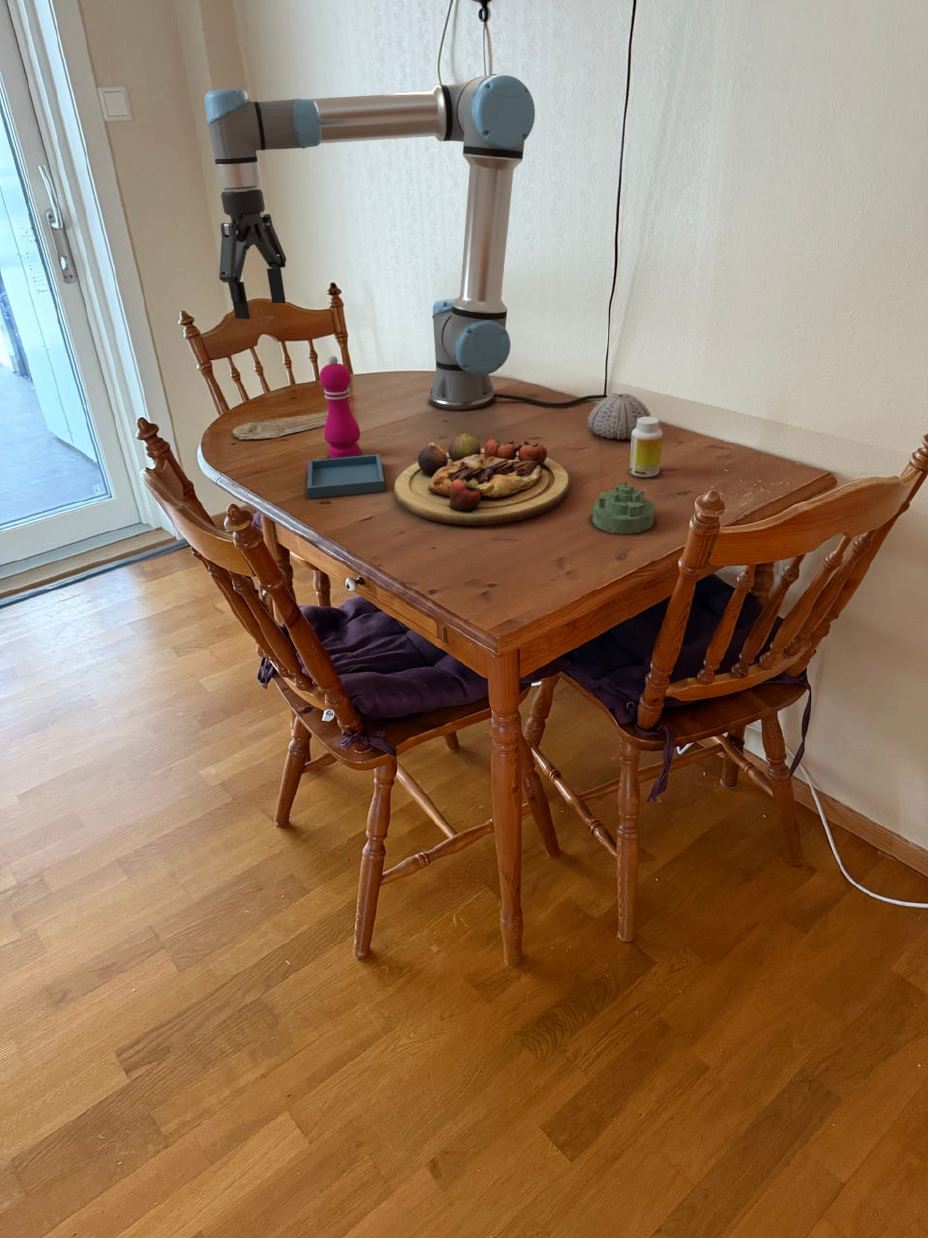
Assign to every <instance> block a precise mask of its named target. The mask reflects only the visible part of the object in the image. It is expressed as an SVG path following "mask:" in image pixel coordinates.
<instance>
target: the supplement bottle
mask: <svg viewBox="0 0 928 1238" xmlns="http://www.w3.org/2000/svg"><path fill="white" fill-rule="evenodd" d="M663 434H664V433H663V430H662V429H661V428H660V419H659V418H657V417H656V416H651V417H641V418H638V420H637V427H636V428H635V429H634V430H633V431H632V438H631V439H630V455H629V472H630V474H631V475H633V476H635V477H637V478H652V477H656V476H657V475H658V474H659V473H660V470H661V462H662V461H661V460H662V448H663V437H664V435H663Z"/></svg>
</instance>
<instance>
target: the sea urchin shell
mask: <svg viewBox="0 0 928 1238" xmlns="http://www.w3.org/2000/svg"><path fill="white" fill-rule="evenodd" d="M611 394H612V395H609V396H608V397H606V398H602V400H601V399H600V401H599V402H598V403H596V405H595V406H594V408H592V410H591V411H590V412H589V413H588V414H589V416H588V417H587V419H588V420H587V423H588V427H589V428H590V431H592V432H593V433H594V434H596V435H599V437H604V438H608V439H618V440H625V439H627V440H631V438H632V431H633V430H634V429H635V428H636V427H637V420H638V418H641V417H652V414H651V412H650V411H649V408H647V407H646V405H645V404H643V402H642V401H641V400H639V398H637V397H636V396H633V395H632V394H629V393H611Z"/></svg>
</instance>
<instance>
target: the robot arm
mask: <svg viewBox="0 0 928 1238" xmlns="http://www.w3.org/2000/svg"><path fill="white" fill-rule="evenodd" d="M203 101H204V106H205V114H206V120H207V121H206V122H207V127H208V132H209V136H210V137H209V138H210V143H211V147H212V153H213V158H214V163H215V168H216V174H217V179H218V186H219V188H220V189H221V190H223V191H222V192H221V193H220V197H221V203H222V209H223V213H224V214H225V215H228V216H229V217H230V222H221V223H220V232H221V233H220V234H221V242H220V243H221V244H220V257H219V258H220V260H219V271H218V272H219V273H218V278H219V280H220V281H222V283H224V284H225V283H227V284H228V288H229V293H230V299H231V301H232V306H233V312H234V317H235V319H236V320H238V319H239V320H249V319H250V318H251V315H250V309H249V305H248V300H247V291H246V287H245V282H244V281H241V278H242V275H243V270H244V266H245V261H246V257H247V252H248V250H249V249H250V248H251V246H253V245H255V247H256V249H257V250H258V252H259V253H260V255H261V257H262V259H264V261H265V262H266V264H267V265H268V268H266V273H267V280H268V287H269V291H270V297H271V298H270V299H271V303H272V304H286V294H285V288H284V281H283V275H282V269H284V268H286V262H287V257H286V254H285V252H284V250H283V247H282V245H281V242H280V240H279V238H278V235H277V233H276V230H275V227H274V225H273V220H272V216H271V214H270V213H264V212H265V210H266V206H265V205H266V204H265V199H264V193H263V191H262V189H260V187H261V186H262V178H261V173H260V165H259V162H258V156H257V151H267V150H270V151H271V150H272V151H273V150H291V149H292V150H293V149H302V150H303V149H307V148H314V147H319V145H320V144H334V143H335V144H336V143H351V142H352V143H353V142H366V141H381V140H397V139H410V138H412V139H413V138H414V139H415V138H428V137H435V139H436V140H438V142H460V143H461V142H462V143H463V145H462V156H463V158H464V160H466V162H467V164H468V165H469V172H468V183H467V197H466V198H467V199H466V211H465V212H466V214H465V225H464V238H463V239H464V240H463V252H462V253H463V254H462V264H461V265H462V266H461V280H460V290H459V291H460V294H459V296H458V297H457V298H448V299H442V300H437V301H436V302H434V303H433V305H432V315H431V317H432V322H433V323H432V324H433V337H434V339H433V340H434V355H435V372H434V377H433V380H432V385H431V387H430V390H429V401H430V404H431V405H432V406H434V407H436V408H438V409H442V410H450V411H468V410H476V409H480V408H483V407H486V406H489V405H490V404H492V403H494V401H495V398H499V399H506V400H514V401H521V402H527V403H531V404H534V405H535V404H536V405H538V406H539V405H540V406H543V407H550V408H551V407H552V408H553V407H554V408H557V407H558V408H559V407H567V406H573V405H575V404H578V403H581V402H584V401H588V400H598V399H600V400H601V399H604V398H606V397H608V396H607V395H605V394H606V393H605V394H604V393H603V394H591V395H586V396H582V397H579V398H576V399H573V400H570V401H565V402H548V401H544V400H543V401H542V400H538V399H535V398H530V397H525V396H519V395H511V394H503V393H496V392H495V388H494V386H493V382H492V381H491V377H490V374H493V373H495V372H496V371H498V370H499V369H500V368H502V366H503V365H504V364H505V363H506V361H507V360H508V357H509V356H510V352H511V338H510V335H509V332H508V330H507V329H506V327H507V316H508V307H507V306H506V304H505V302H504V301H503V300H502V295H503V294H502V293H503V283H504V273H505V263H506V252H507V241H508V232H509V222H510V213H511V212H510V211H511V202H512V190H513V181H514V171H515V169H516V168H517V167H518V166H519V165H520V164H521V163H522V162H523V159H524V150H525V141H526V140H527V139H528V137H529V136H530V134H531V132H532V131H533V129H534V128H533V127H534V124H535V118H536V117H535V116H536V107H535V103H534V102H535V101H534V99H533V96H532V94H531V92H530V90H529V88H528V86H526V85H525V83H523V81H521V80H520V79H519V78H517V77H515V76H512V75H509V74H504V73H493V74H490V75H483V76H476V77H473V78H470V79H467V80H464V81H460V82H455V83H451V84H439V85H435V87H434V88H433V89H432V90H431V91H423V92H405V93H404V92H403V93H391V94H390V93H389V94H371V95H356V96H355V95H354V96H339V97H338V96H337V97H321V98H319V97H318V98H293V99H279V100H278V99H276V100H266V101H252V100H250V98H249V96H248V92H247V91H246V89H242V88H237V89H236V88H235V89H216V90H215V89H214V90H209V91H207V92H206V93H205V96H204V100H203Z"/></svg>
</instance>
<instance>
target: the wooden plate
mask: <svg viewBox="0 0 928 1238" xmlns="http://www.w3.org/2000/svg"><path fill="white" fill-rule="evenodd" d="M514 442H515V441H514V440H511V441H509V442H508V441H507V442H502V443H501V442H500V440H499V437H498V436H497V437H492V438H491V439H489V440H488V441H487V442H486V443H485V445H484V447H483V448H481V445H480V442H479V441H478V440H477V439H476V438H474V437H473V436H471V435H468V434H467V433H463V434H461V435H460V436H457V437H456V438H454V440H453V441H452V442H451V443H450V445H449V446H448V449H447V450H448V451H447V452H446V451H445V450H444V449H443V448H442V447H441V446H440V445H438V444H436V443H435V442H433V441H432V442H430V443H427V444H425V445H424V446H423V447H422V448H421V449H420V451H419V453H418V456H417V462H416V463H414V464H412V465H410V466H408V467H407V468H405V469H404V470H403V471H402V472H401V473H400V474H399V475H398V477H397V478H396V480H395V482H394V485H393V493H394V497H395V498H396V500H397V502H398V503H399V505H401V506H402V508H403V509H405V510H407V511H408V512H410V513H412V514H414V515H416V516H417V517H421V518H424V519H427V520H429V521H432V522H433V521H434V522H437V523H438V522H439V523H445V524H451V525H462V526H487V525H498V524H499V525H500V524H505V523H511V522H512V523H513V522H518V521H522V520H525V519H528V518H532V517H535V516H537V515H540V514H542V513H545V512H547V511H549V510H551V509H552V508H554V507H556V506H557V505H559V504H560V503H561V502H562V501H563V500H564V498H565V497H566V496H567V494H568V492H570V491H569V490H570V487H571V478H570V476H569V474H568V472H567V470H566V469H565V468H564V467H563V466H562V465H561V464H559V463H558V462H556V461H555V460H553V459H551V458H549V457H548V451H547V447H545V446H544V445H543V444H540V443H541V442H537V443H535V444H531V443H529V442H528V441H525V440H523V444H524V445H523V444H518V446H517V447H516V445H515V444H514Z"/></svg>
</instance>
